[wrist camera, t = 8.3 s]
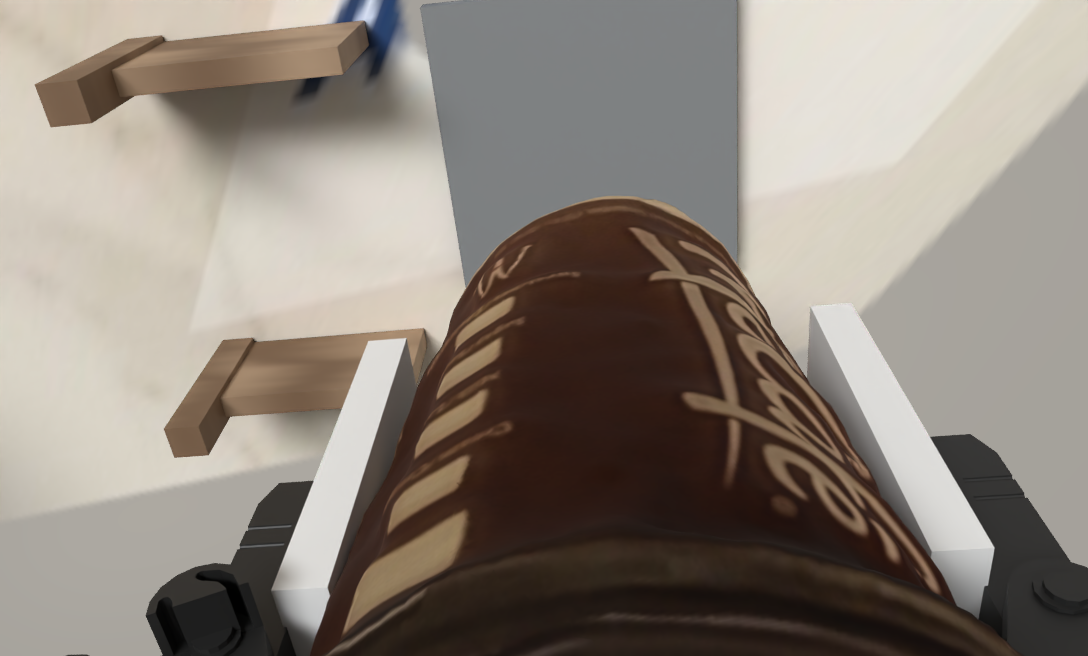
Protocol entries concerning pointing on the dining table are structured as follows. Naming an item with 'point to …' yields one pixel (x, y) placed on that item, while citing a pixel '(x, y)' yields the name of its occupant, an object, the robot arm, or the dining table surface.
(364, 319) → the dining table surface
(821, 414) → the coffee cup
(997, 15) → the dining table surface
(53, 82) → the cup holder rails
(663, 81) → the coaster
